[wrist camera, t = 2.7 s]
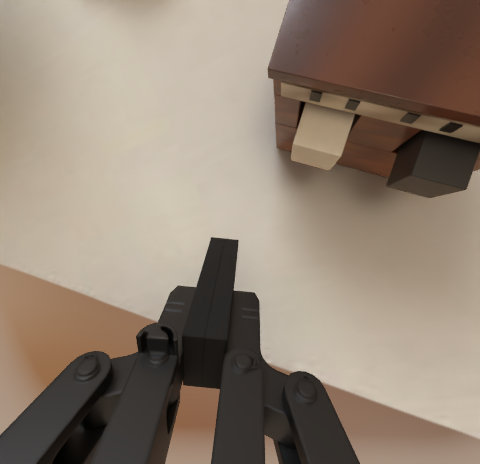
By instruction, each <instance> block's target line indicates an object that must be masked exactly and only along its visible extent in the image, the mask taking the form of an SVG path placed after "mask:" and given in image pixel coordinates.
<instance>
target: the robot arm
mask: <svg viewBox="0 0 480 464" xmlns="http://www.w3.org/2000/svg"><path fill="white" fill-rule="evenodd" d="M237 251H238V240H232V239H222V238H212V237H211V241H210V244H209V247H208V251H207V254H206V257H205V260H204V264H203V267H202V270H201V274H200V277H199V280H198V284H197V287H186V286H177V287H176V288H175V289H174V290H173V291H172V292H171V293H170V295H169V297H168V300H167V303H166V305H165V307H164V310H163V312H162V314H161V316H160V319H159V321H158V323H153V324H150V325H148V326H146V327H145V328H143V329H142V330H141V331H140V332H139V333H138V335H137V336H136V339H137V346H138V352H136V353H134V354H132V355H128V356H123V357H118V358H113V359H110V357H109V356H108V355H107V354H106V353H104V352H100V351H93V352H88V353H85V354H83V355H81V356H79V357H77V358H76V359H75V360H74V361H72V362H71V363H70V364H69V365H68V366H67V367H66V368H65V369H64V370H63V371H62V372H61V373H60V375H58V377H56V378H55V379H54V381H53V382H52V383H51V384H50V385H49V386H48V387H47V388H46V389H45V390H44V391H43V392H42V393H41V394H40V395H39V396H38V397H37V398H36V399H35V400H34V401H33V402H32V403H31V404H30V405H29V406H28V407H27V408H26V409H25V410H24V411H23V412H22V413H21V414H20V415H19V417H18V418H17V419H16V420H15V421H14V422H13V423H12V424H11V425H10V426H9V427H8V428H7V429H6V430H5V431H4V432H3V433H2V434H1V435H0V464H165V461H166V457H167V452H168V448H169V444H170V440H171V436H172V431H173V427H174V423H175V419H176V415H177V411H178V407H179V403H180V389H181V385H182V381H183V385H187V386H196V387H206V388H216V389H220V394H219V403H218V411H217V419H216V428H215V436H214V444H213V452H212V460H211V464H265V443H264V442H265V441H264V440H265V439H264V435H266V436H268V437H270V438H272V439H273V441H274V445H275V449H276V453H277V457H278V461H279V464H360V463H359V461H358V459H357V456H356V454H355V452H354V450H353V448H352V445H351V443H350V441H349V439H348V437H347V435H346V433H345V430H344V428H343V426H342V424H341V422H340V420H339V418H338V415H337V413H336V411H335V409H334V407H333V405H332V402H331V400H330V399H329V396H328V394H327V392H326V390H325V388H324V386H323V385H322V383H321V382H320V380H318V379H317V378H316V377H315V376H314V375H312V374H309V373H307V372H302V371H297V372H294V373H291V374H290V375H289V376H288V375H286V374H284V373H282V372H279V371H277V370H275V369H273V368H272V367H270V366H269V365H268V364H267V363H266V362H265V360H264V359H263V357H262V355H261V351H260V320H259V319H260V314H259V300H258V298H257V296H256V294H255V293H252V292H242V291H234V281H235V271H236V261H237Z"/></svg>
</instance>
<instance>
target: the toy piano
mask: <svg viewBox="0 0 480 464" xmlns="http://www.w3.org/2000/svg"><path fill="white" fill-rule="evenodd" d="M268 78H271V79H273V82H274V99H275V124H276V147H277V148H280V149H283V150H287V151H291V152H292V146H293V141H294V138H295V135H296V132H297V129H298V126H299V123H300V119H301V116H302V113H303V110H304V107H305V104H306V102H308V103H312V104H316V105H321V106H325V107H329V108H333V109H337V110H342V111H346V112H350V113H354V114H355V116H354V119H353V122H352V125H351V128H350V131H349V134H348V137H347V140H346V143H345V146H344V150H343V153H342V156H341V157H340V158H339V160H338V161H337V162H336V164H339V165H343V166H347V167H351V168H354V169H358V170H362V171H365V172H369V173H373V174H377V175H380V176H384V177H388V178H389V176H390V173H391V170H392V167H393V164H394V162H395V159H396V156H397V153H398V150H399V147H400V145H401V144H403V143H404V142H406V141H407V140H408V139H410V138H411V137H412V136H414V135H415V134H416V133H418V132H419V131H421V130H426V131H430V132H434V133H439V134H443V135H447V136H451V137H455V138H460V139H464V140H468V141H472V142H477V143H480V0H289V2H288V6H287V9H286V12H285V15H284V18H283V22H282V25H281V28H280V31H279V34H278V38H277V41H276V44H275V47H274V50H273V53H272V57H271V60H270V63H269V66H268ZM478 169H480V152H479V155H478V158H477V160H476V163H475V166H474V169H473V171H475V170H478Z"/></svg>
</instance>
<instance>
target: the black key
mask: <svg viewBox="0 0 480 464" xmlns="http://www.w3.org/2000/svg"><path fill="white" fill-rule="evenodd" d="M479 152H480V143H477V142H472V141H468V140H464V139H460V138H455V137H451V136H447V135H443V134H439V133H434V132H430V131H426V130H421V131H419V132H418V133H416V134H415V135H414V136H412V137H411V138H410V139H408V140H407V141H406V142H404V143H403V144H401V145H400V147H399V150H398V153H397V156H396V159H395V162H394V164H393V167H392V170H391V173H390V176H389V179H388V182H387V185H386V186H387V187H391V188H394V189H398V190H402V191H405V192H409V193H412V194H416V195H420V196H423V197H427V198H433V197H437V196H441V195H445V194H450V193H454V192H458V191H463V190H466V189H467V186H468V183H469V180H470V177H471V175H472V172H473V169H474V166H475V163H476V160H477V158H478V155H479Z"/></svg>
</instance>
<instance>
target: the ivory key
mask: <svg viewBox="0 0 480 464" xmlns="http://www.w3.org/2000/svg"><path fill="white" fill-rule="evenodd" d="M354 116H355V114H354V113H350V112H346V111H342V110H337V109H333V108H329V107H325V106H321V105H316V104H312V103H308V102H306V104H305V107H304V110H303V113H302V116H301V119H300V123H299V126H298V129H297V132H296V135H295V138H294V141H293V146H292V153H291V160H292V161H296V162H299V163H303V164H307V165H310V166H314V167H318V168H321V169H325V170H331V168H332V167H333V166H334V165H335V163H336V162H337V161H338V160H339V158H340V157H341V156H342V153H343V150H344V146H345V143H346V140H347V137H348V134H349V131H350V128H351V125H352V122H353V119H354Z"/></svg>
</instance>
